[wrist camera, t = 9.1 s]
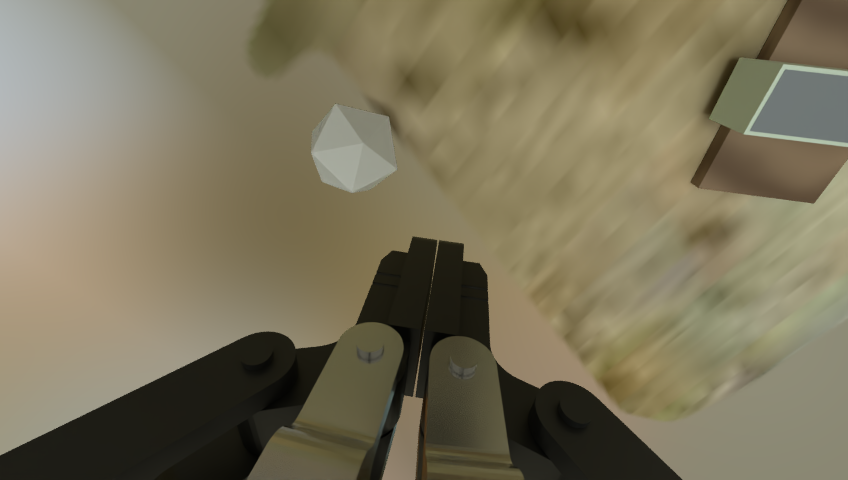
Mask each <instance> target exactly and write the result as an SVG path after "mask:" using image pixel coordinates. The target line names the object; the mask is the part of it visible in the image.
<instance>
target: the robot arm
mask: <svg viewBox="0 0 848 480" xmlns="http://www.w3.org/2000/svg"><path fill="white" fill-rule="evenodd" d="M436 247H437V240H433V239H427V238H419V237H413V238H412V241H411V244H410V248H409V251H408V253H405V252H399V251H391V252H390V253H389V254H388V255H387V256H385V257H384V258H383V259H382V260H381V262H380V265H379V267H378V270H377V274H376V275H375V278H374V280H373V284H372V285H371V288H370V290H369V293H368V295H367V298H366V300H365V303H364V306H363V308H362V311H361V313H360V316H359V318H358V321H357V323H356V325H355V326H353V327H351V328H349V329H348V330H347V331H345V332H344V334H342V336H341V337H340V339H339V340H338V341H337V342H335V343H332V344H329V345H324V346H318V347H308V348H299V349H295V346H294V344H293V342H292V341H291V340H290V339H289V338H288V337H287V336H285V335H283V334H280V333H276V332H259V333H254V334H251V335H248V336H246V337H244V338H241V339H240V340H237V341H235V342H233V343H231V344H229V345H227V346H225V347H223V348H221V349H219V350H217V351H215V352H213V353H210V354H208V355H206V356H204V357H202V358H200V359H198V360H196V361H194V362H192V363H190V364H188V365H186V366H184V367H182V368H180V369H177V370H175V371H173V372H171V373H169V374H167V375H165V376H163V377H161V378H159V379H157V380H155V381H153V382H151V383H149V384H147V385H145V386H142V387H140V388H139V389H136V390H134V391H132V392H130V393H128V394H126V395H124V396H122V397H120V398H118V399H116V400H114V401H112V402H110V403H107V404H105V405H103V406H101V407H100V408H97V409H95V410H93V411H91V412H89V413H87V414H85V415H83V416H81V417H79V418H77V419H75V420H72V421H70V422H68V423H66V424H64V425H62V426H60V427H58V428H56V429H54V430H52V431H50V432H48V433H46V434H44V435H42V436H39V437H37V438H35V439H33V440H31V441H29V442H27V443H25V444H23V445H21V446H19V447H17V448H15V449H13V450H11V451H9V452H6V453H5V454H2V455H0V480H382V477H383V474H384V470H385V466H386V462H387V459H388V456H389V452H390V448H391V445H392V441H393V437H394V434H395V430H396V425H397V422H398V419H399V417H400V413H401V408H402V403H403V398H404V395H406V396H411V397H412V396H413V392H414V386H415V380H416V374H417V368H418V362H419V356H420V350H421V345H422V351H421V359H420V366H419V374H418V381H417V390H416V397H418V398H423V404H422V411H421V419H420V425H419V432H418V446H417V462H416V477H415V478H416V479H415V480H682V479H681V478H680V477H679V476H678V475H677V474H676V473H675V472H674V471H673V470H672V469H670V467H669V466H667V464H665V463H664V462H663V461H662V460H661V459H660V458H659V457H658V456H657V455H656V454H655V453H654V452H653V451H652V450H651V449H650V448H649V447H648V446H647V445H646V444H645V443H644V442H642V441H641V440H640V439H639V438H638V437H637V436H636V435H635V434H634V433H633V432H632V431H631V430H630V429H629V428H628V427H627V426H626V425H625V424H624V423H622V421H621V420H620V419H619V418H618V417H616V416H615V415H614V414H613V413H612V412H611V411H610V410H609V409H608V408H607V407H606V406H605V405H604V404H603V403H602V402H601V401H600V400H599V399H598V398H597V397H595V396H594V395H593V394H592V393H591V392H589V391H588V390H586V389H585V388H583V387H581V386H579V385H576V384H574V383H571V382H566V381H553V382H549V383H547V384H545V385H544V386H542V387H541V388H540V389H539V388H537V387H535V386H533V385H530V384H528V383H526V382H524V381H522V380H520V379H517V378H516V377H514V376H512V375H511V374H509V373H508V372H506V371H505V370H504V369H503V368H502V367H501V366H500V365H499V364H498V363H497V361H496V360H495V358H494V356H493V354H492V352H491V348H490V334H489V310H488V309H489V308H488V291H487V290H488V282H487V274H486V273H485V271H484V270H483V268H482V267H481V265H480V264H479V263H473V262H466V261H463V250H464V244H462V243H454V242H448V241H441V240H440V241H439V245H438V251H437V257H436V263H435V269H434V275H433V268H434V260H435V254H436ZM432 277H433V281H432ZM431 284H432V287H431ZM430 291H431V293H430ZM429 297H430V299H429ZM428 304H429V305H428ZM427 309H428V311H427ZM426 315H427V316H426ZM425 321H426V322H425ZM424 327H425V328H424ZM423 333H424V335H423ZM422 339H423V343H422Z"/></svg>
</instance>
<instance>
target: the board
mask: <svg viewBox="0 0 848 480" xmlns="http://www.w3.org/2000/svg"><path fill="white" fill-rule="evenodd" d="M757 59H760V60H769V61H778V62H787V63H796V64H805V65H814V66H823V67H832V68H841V69H848V0H788V1H787V3H786V5H785V7H784V9H783V11H782V13H781V14H780V16H779V18H778V20H777V22H776V24H775V26H774V28H773V29H772V31H771V33H770V35H769V37H768V39H767V41H766V43H765V44H764V46H763V48H762V50H761V52H760V54H759V56H758V57H757ZM847 159H848V147H843V146H835V145H827V144H819V143H811V142H802V141H794V140H786V139H778V138H770V137H762V136H753V135H745V134H742V133H739V132H737V131H735V130H733V129H730V128H728V127H726V126H724V125H721V127H720V129H719V130H718V132H717V134H716V136H715V138H714V140H713V142H712V144H711V145H710V147H709V149H708V151H707V153H706V155H705V157H704V159H703V160H702V162H701V164H700V166H699V168H698V170H697V172H696V174H695V175H694V177H693V179H692V181H691V183H692V184H694V185H695V186H696V187H698V188H701V189H709V190H716V191H724V192H731V193H739V194H747V195H754V196H762V197H769V198H777V199H784V200H792V201H800V202H807V203H815V201H816V200H817V199H818V198H819V196H820V195H821V194H822V192H823V191H824V190H825V188H826V187H827V186H828V184H829V183H830V182H831V180H832V179H833V178H834V177H835V175H836V174H837V173H838V171H839V170H840V169H841V167H842V166H843V165H844V163H845V162H846V161H847Z"/></svg>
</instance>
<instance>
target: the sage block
mask: <svg viewBox="0 0 848 480" xmlns="http://www.w3.org/2000/svg"><path fill="white" fill-rule="evenodd" d="M709 119H710V120H712V121H715V122H717V123H719V124H721V125H724V126H726V127H728V128H730V129H733V130H735V131H737V132H739V133H742V134H745V135H753V136H762V137H770V138H778V139H786V140H794V141H802V142H811V143H819V144H827V145H835V146H843V147H848V69H841V68H832V67H823V66H814V65H805V64H796V63H787V62H778V61H769V60H760V59H751V58H742V57H740V58H739V60H738V62H737V64H736V66H735V68H734V70H733V72H732V74H731V76H730V78H729V80H728V82H727V84H726V86H725V88H724V90H723V92H722V94H721V96H720V98H719V100H718V101H717V103H716V105H715V107H714V109H713V111H712V113H711V115H710V117H709Z"/></svg>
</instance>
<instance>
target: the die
mask: <svg viewBox="0 0 848 480" xmlns="http://www.w3.org/2000/svg"><path fill="white" fill-rule="evenodd" d="M311 154H312V156H313V159H314V162H315V164H316V167H317V170H318V172H319V175H320V178H321V180H322V182H324V183H327V184H329V185H332V186H335V187H338V188H341V189H343V190H346V191H348V192H351V193H354V192H360V191H366V190H370V189H372V188H373V187H374V186H376V185H377V184H379V183H380V182H381V181H383V180H384V179H385V178H387V177H388V176H389V175H391V174H392V173H393V172H394V171H396V170H397V163H396V157H395V151H394V145H393V139H392V132H391V126H390V120H389V116H385V115H381V114H377V113H373V112H368V111H365V110H360V109H356V108H352V107H348V106H344V105H340V104H336V103H335V105H334V106H333V107H332V108H331V110H330V111H329V112H328V113H327V114H326V116H325V117H324V118H323V119H322V120H321V122H320V123H319V124H318V125H317V127H316V128H315V129H314V130H313V131H312V146H311Z"/></svg>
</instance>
